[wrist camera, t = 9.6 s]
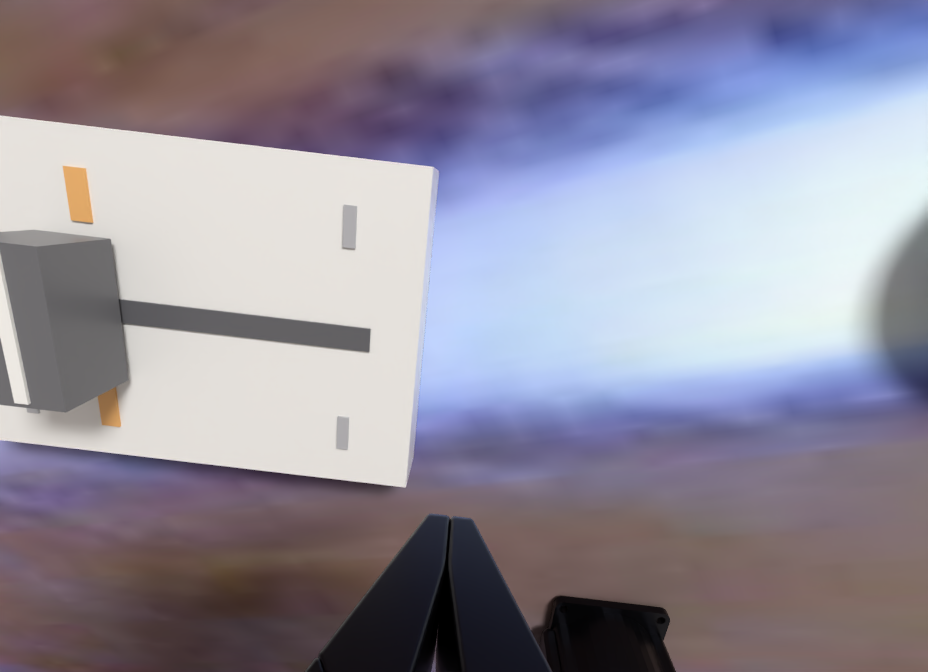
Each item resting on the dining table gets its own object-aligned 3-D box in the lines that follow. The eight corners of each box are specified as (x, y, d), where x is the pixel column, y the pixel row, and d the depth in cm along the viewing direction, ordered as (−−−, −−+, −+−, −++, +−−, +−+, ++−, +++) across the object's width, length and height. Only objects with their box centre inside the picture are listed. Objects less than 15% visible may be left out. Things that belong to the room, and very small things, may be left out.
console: (439, 171, 19) (432, 166, 16) (413, 457, 23) (405, 488, 20) (-31, 115, 19) (-110, 102, 16) (29, 412, 23) (-26, 438, 20)
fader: (110, 238, 17) (33, 246, 14) (128, 380, 19) (63, 413, 16) (34, 229, 17) (-60, 236, 14) (59, 372, 19) (-20, 404, 16)
